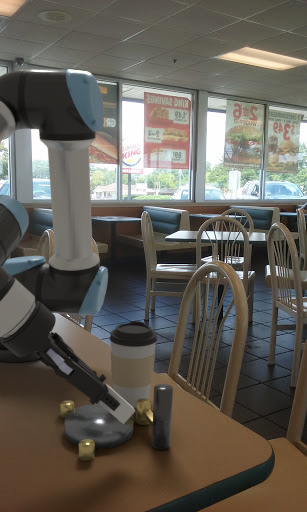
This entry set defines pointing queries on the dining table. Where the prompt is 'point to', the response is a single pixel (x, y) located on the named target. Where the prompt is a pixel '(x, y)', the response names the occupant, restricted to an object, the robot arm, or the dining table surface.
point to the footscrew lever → (157, 415)
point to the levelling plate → (94, 428)
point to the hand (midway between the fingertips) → (127, 415)
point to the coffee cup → (132, 360)
